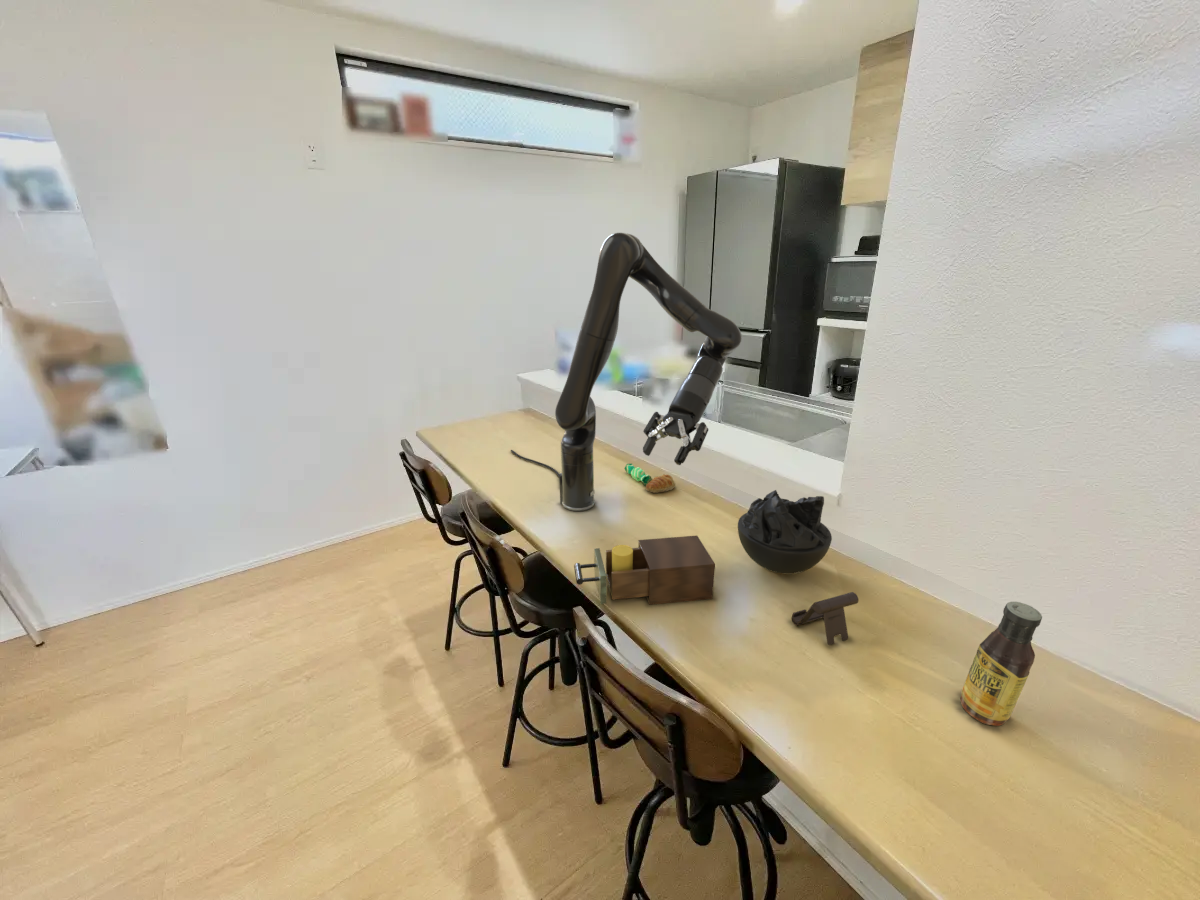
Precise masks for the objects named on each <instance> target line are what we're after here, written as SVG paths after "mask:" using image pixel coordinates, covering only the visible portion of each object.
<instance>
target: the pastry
mask: <svg viewBox="0 0 1200 900" xmlns="http://www.w3.org/2000/svg"><path fill="white" fill-rule="evenodd" d="M645 487H646V488H645V490H646V491H648V492H651V493H654V494H658V493H663V492H668V491H671V490H673V489H675V487H676V483H675V480H674V478H673V477H672V476H671V475H670V474H665V473H663V474H662V475H659V476H655V477H653V478H652V480H651V481H650V482H649V483H648V484H647V485H646V486H645Z"/></svg>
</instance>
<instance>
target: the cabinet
mask: <svg viewBox="0 0 1200 900" xmlns="http://www.w3.org/2000/svg"><path fill="white" fill-rule="evenodd" d="M637 543H638V545H637V548H641V551H642V553H643V556H644V558H645V561H646V563H647V566H648V569H649V596H645V597H646V600H647V603H648V605H649V606H651V605H664V604H673V603H684V602H691V601H692V602H695V601H704V600H712V599H713V594H714V583H715V571H716V563H715V562H714V559H713V558H712V557H711V554H710V553H709V552H708V549H706V547H705V545H704V543H703V542H702V541H701V539H700V537H699V535H686V536H685V535H684V536H674V537H673V536H672V537H662V538H661V537H660V538H648V539H638V541H637Z"/></svg>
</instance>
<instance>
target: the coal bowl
mask: <svg viewBox="0 0 1200 900" xmlns="http://www.w3.org/2000/svg"><path fill="white" fill-rule="evenodd" d="M824 505H825V497H824V496H823V495H817V496H808V497H805V496H803V497H801V498H798V499H797V500H796V501H794V500H793V501H792V500H789V499H786V498H782V497H780V495H779V493H778V491H777V489H775V490H773V491H771V492H769V493H767V494H766V495H765V496H764V497H763V499H762V498H760V497H759V498H757V499H755V500H753V501H752V502H751V503H750V505H749V506H750V507H749V508H748V510H747V512H745V513H743V514H742V515H741V516H740V517H739V518H738V521H737V534H738V539H739V541H740V544H741V546H742V547H743V548H742V549H744V551H745V553H746V554H747V556H748V557H749V558H750V559H751V560H752V561H753V562H755V563H756V565H758V566H760V567H762V568H763V569H765V570H767V571H770V572H773V573H777V574H783V575H791V574H792V575H793V574H799V573H802V572H805V571H807V570H810V569H811V568H813V567H815V566H816V565H817V564H818V563H820V562H821V561H822V560H823V559H824V557H825V555H826V554H827V553H828V551H829V549H830V547H831V545H832V540H833V536H832V533H831V531H830V529H829V528H828V527H827V526H826V525H825V524H824V523H822V522H821V521H822V515H823V508H824Z"/></svg>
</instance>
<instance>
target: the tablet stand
mask: <svg viewBox="0 0 1200 900" xmlns="http://www.w3.org/2000/svg"><path fill="white" fill-rule="evenodd" d="M858 603H859V596H858V595H857V593H856V592H854V591H850V592H847V593H843V594H840V595H835V596H833V597H830V598H829V597H828V598H826V599H822V600H819V601H815V602H813V604H811V606H810V607H809V608H808V610H807V609H802V610H798V611H794V612H792V614H791V618H790V619H791V622H792V624H793V625H794V626H801V625H803V624H806V623H810V622H813V621H816V620H820V619H823V622H824V630H825V636H826V642H827V644H828V645H829V646H832V645H834V644H835V637H837V636H840V639H841V641H842V642H844V641H847V640H848V639H849V633H848V627H847V620H846V613H845V608H847V607H849V606H852V605H857V604H858Z"/></svg>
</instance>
